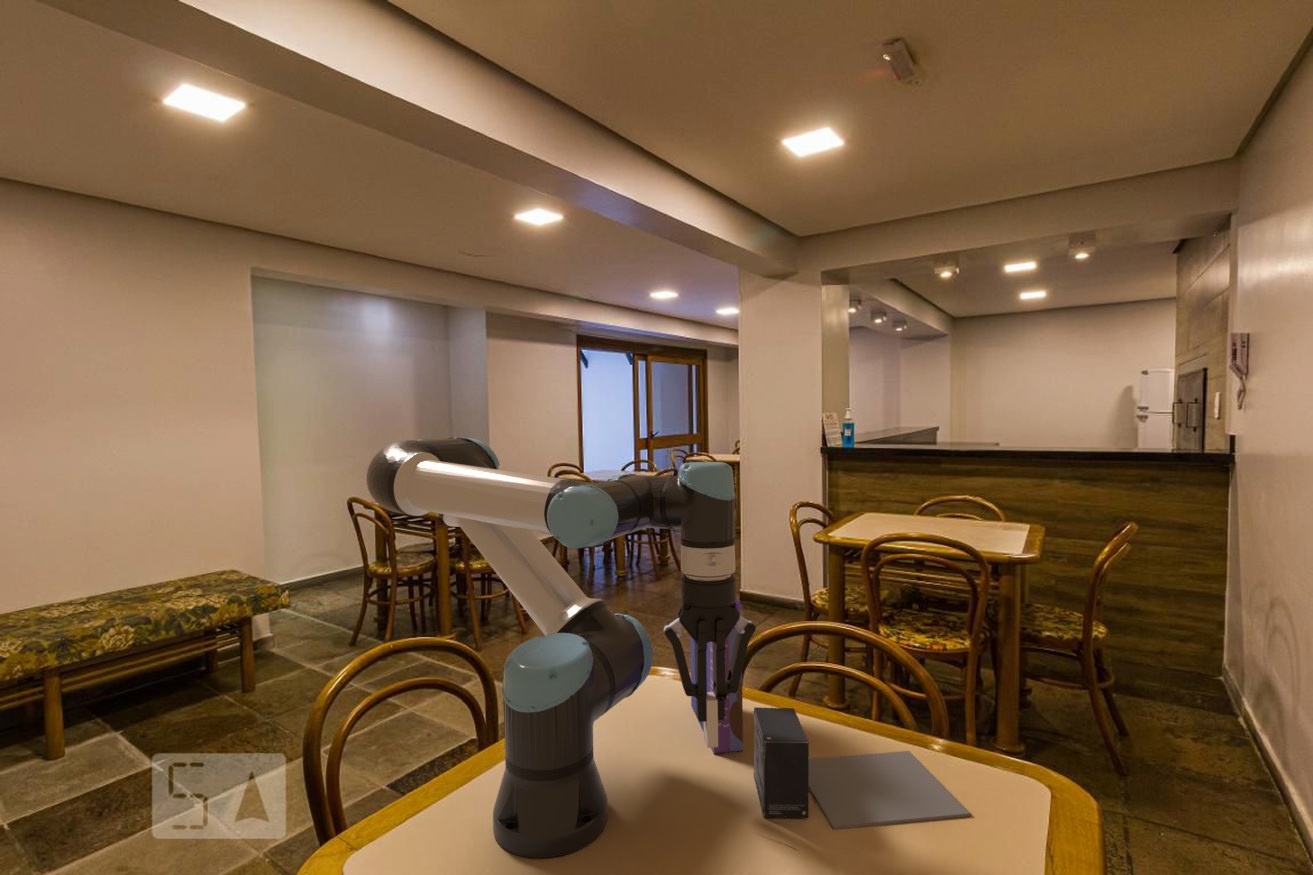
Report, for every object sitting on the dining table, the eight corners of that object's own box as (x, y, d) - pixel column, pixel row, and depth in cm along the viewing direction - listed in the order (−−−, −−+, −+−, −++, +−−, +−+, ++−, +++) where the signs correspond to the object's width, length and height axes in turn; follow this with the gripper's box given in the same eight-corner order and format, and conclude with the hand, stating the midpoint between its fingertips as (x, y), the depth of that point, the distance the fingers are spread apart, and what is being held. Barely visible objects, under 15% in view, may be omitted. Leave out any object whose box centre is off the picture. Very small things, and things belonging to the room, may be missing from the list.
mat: (833, 828, 82) (833, 825, 82) (792, 762, 98) (792, 760, 98) (970, 815, 84) (970, 812, 84) (909, 753, 100) (909, 750, 100)
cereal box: (743, 751, 102) (741, 603, 101) (714, 754, 101) (711, 605, 100) (716, 703, 119) (714, 576, 118) (691, 705, 118) (689, 578, 117)
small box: (812, 819, 84) (811, 741, 84) (763, 819, 84) (762, 742, 84) (796, 774, 95) (795, 705, 94) (752, 775, 95) (751, 706, 95)
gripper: (664, 583, 83) (668, 760, 84) (761, 578, 84) (764, 752, 85) (658, 569, 90) (661, 732, 91) (747, 565, 92) (749, 726, 93)
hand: (710, 742), depth 88 cm, fingers closed
